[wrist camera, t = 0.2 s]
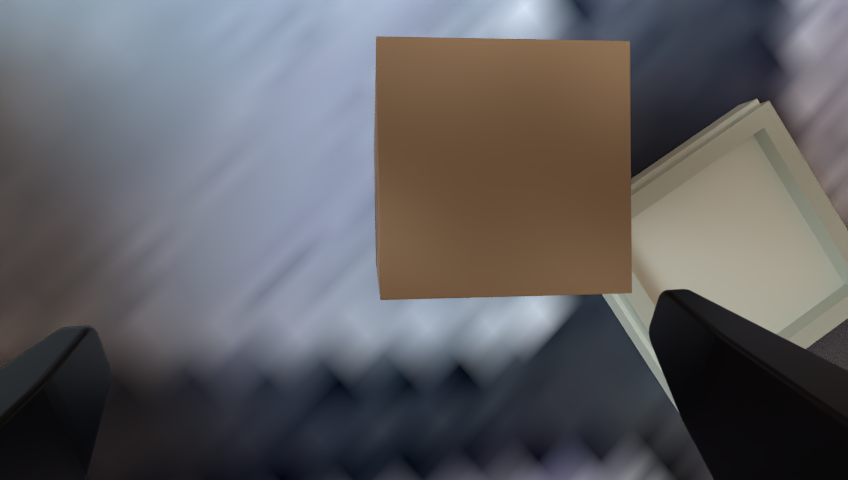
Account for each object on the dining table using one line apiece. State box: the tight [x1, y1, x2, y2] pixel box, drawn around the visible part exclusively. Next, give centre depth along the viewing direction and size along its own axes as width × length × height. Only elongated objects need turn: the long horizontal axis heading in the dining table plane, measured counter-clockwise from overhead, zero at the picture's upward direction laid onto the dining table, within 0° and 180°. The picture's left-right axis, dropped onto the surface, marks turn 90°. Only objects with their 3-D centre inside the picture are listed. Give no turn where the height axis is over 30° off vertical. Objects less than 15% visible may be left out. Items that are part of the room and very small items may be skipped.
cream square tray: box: [602, 99, 848, 412], centre depth 24 cm, size 10×10×2 cm
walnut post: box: [374, 37, 632, 300], centre depth 17 cm, size 5×5×13 cm
